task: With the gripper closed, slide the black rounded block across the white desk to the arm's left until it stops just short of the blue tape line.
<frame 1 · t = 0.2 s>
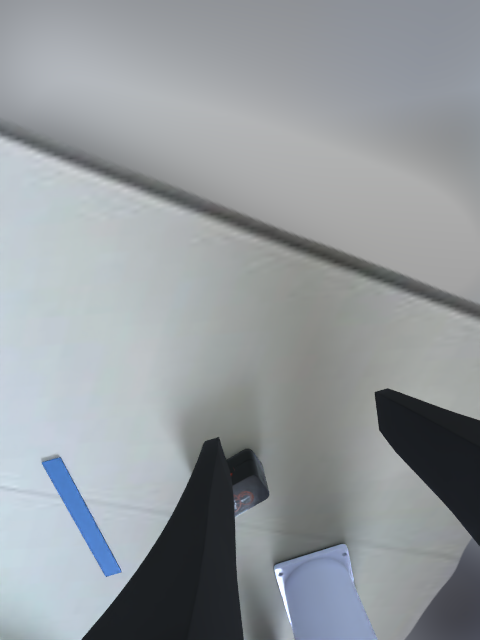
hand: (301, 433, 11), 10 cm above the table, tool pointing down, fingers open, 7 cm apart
black rounded block: (224, 478, 24), on the table
tape line: (85, 521, 23), on the table
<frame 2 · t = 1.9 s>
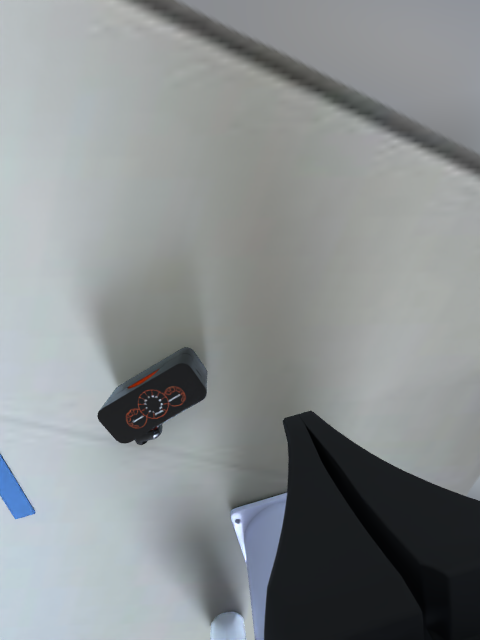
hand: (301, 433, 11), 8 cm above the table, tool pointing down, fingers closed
black rounded block: (160, 390, 19), on the table
milkshake: (225, 622, 25), on the table
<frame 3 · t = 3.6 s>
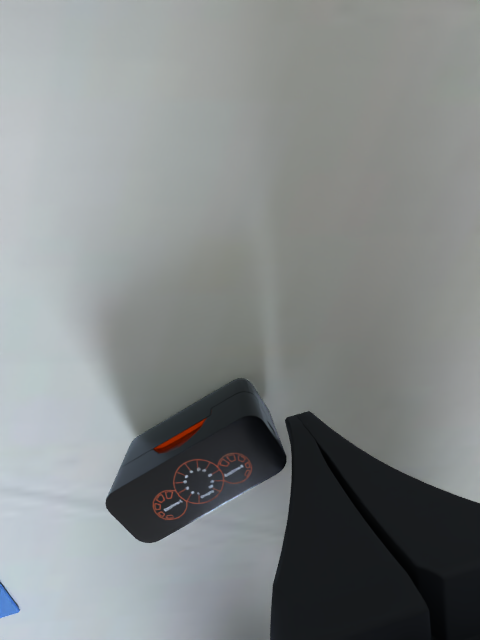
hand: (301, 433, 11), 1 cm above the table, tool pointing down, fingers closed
black rounded block: (197, 440, 13), on the table, touching gripper
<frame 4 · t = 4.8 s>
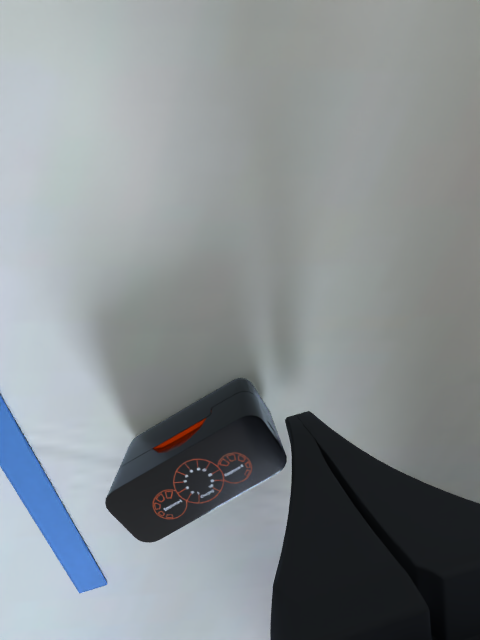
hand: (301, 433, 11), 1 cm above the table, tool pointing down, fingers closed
black rounded block: (197, 439, 13), on the table, touching gripper
tape line: (35, 489, 12), on the table
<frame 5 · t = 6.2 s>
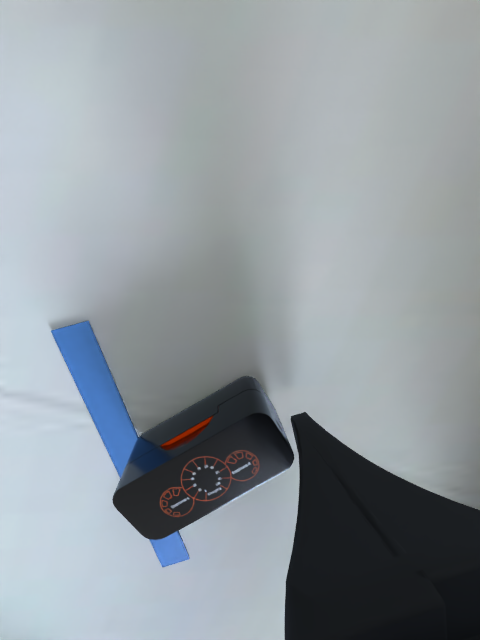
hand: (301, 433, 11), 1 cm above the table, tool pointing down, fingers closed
black rounded block: (202, 437, 13), on the table, touching gripper, tape line
tape line: (131, 460, 12), on the table
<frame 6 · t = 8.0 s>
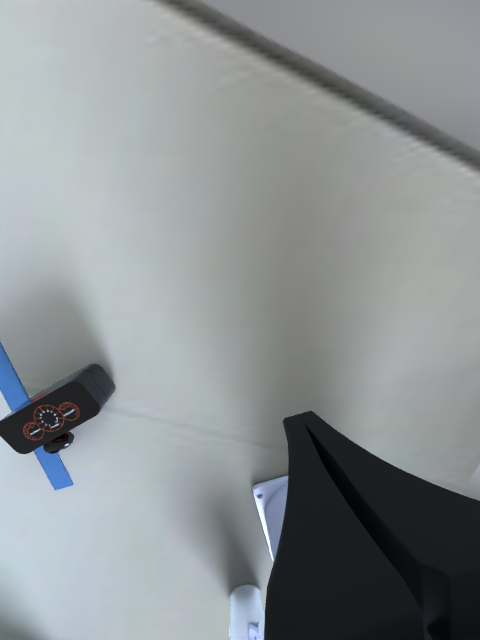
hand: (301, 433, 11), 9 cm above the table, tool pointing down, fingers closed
black rounded block: (74, 403, 20), on the table, touching tape line
milkshake: (243, 595, 27), on the table
tape line: (27, 416, 20), on the table
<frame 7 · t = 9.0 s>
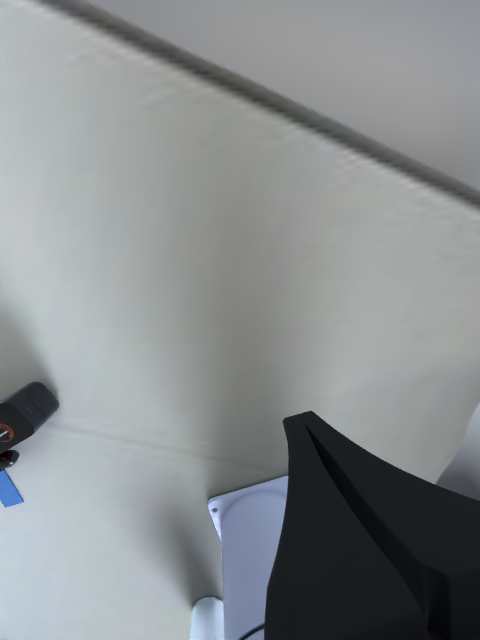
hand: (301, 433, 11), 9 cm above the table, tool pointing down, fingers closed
black rounded block: (19, 420, 20), on the table
milkshake: (206, 607, 27), on the table
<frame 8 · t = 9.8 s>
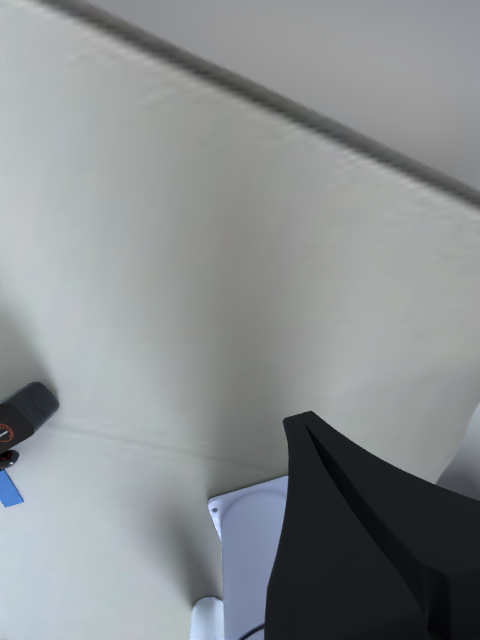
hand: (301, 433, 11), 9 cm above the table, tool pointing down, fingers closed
black rounded block: (19, 420, 20), on the table
milkshake: (206, 607, 27), on the table
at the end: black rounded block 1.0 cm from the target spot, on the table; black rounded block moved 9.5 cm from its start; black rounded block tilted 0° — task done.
